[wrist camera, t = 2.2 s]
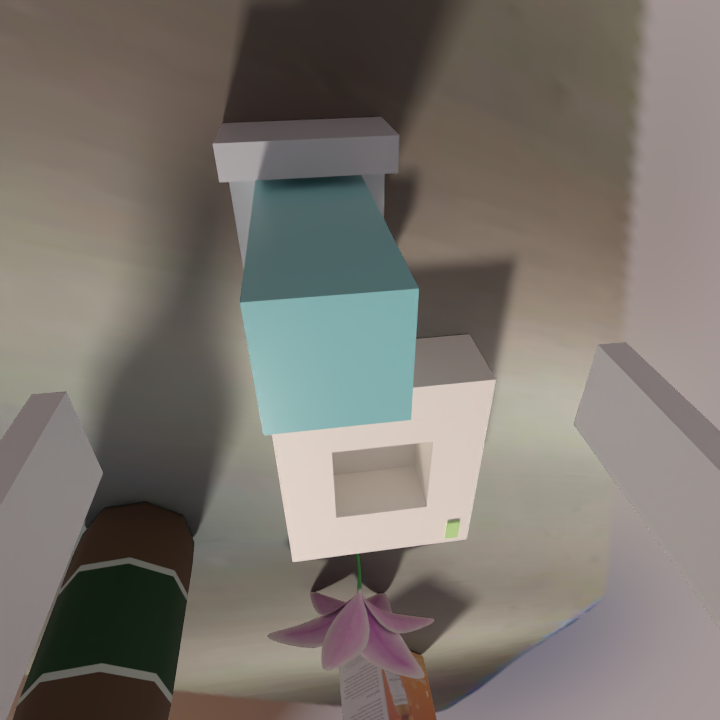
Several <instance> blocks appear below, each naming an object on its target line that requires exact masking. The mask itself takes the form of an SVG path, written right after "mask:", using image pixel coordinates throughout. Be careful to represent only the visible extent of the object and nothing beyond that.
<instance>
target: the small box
mask: <svg viewBox="0 0 720 720" xmlns="http://www.w3.org/2000/svg"><path fill="white" fill-rule="evenodd" d="M410 652H411V651H410ZM411 653H412V655H413V656H414V658H415V659H416V661H417V662H418V664H419V665H420V667H421V668H422V670H423V672H424V674H425V676H424V678H420V679H416V678H410V677H405V676H402V675H398V674H394V673H392V672H389V671H386V670H383V669H381V668H379V667H377V666H375V665H373V664H371V663H370V662H368V661H367V660H366V659H365V658H363V657H362V656H361V654H360V655H358V656H357V657H356V658H354V659H353V660H351V661H349V662H348V663H346V664H344V665H342V666H340V667H339V676H340V688H341V700H342V713H343V720H436V715H435V710H434V705H433V701H432V696H431V691H430V687H429V682H428V677H427V673H426V668H425V663H424V659H423V656H421V655H419V654H416V653H413V652H411Z"/></svg>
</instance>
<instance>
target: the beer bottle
mask: <svg viewBox="0 0 720 720" xmlns="http://www.w3.org/2000/svg"><path fill="white" fill-rule="evenodd" d="M193 552H194V540H193V538H192V536H191V534H190V531H189V529H188V527H187V525H186V523H185V521H184V518H183V516H182V515H181V514H178V513H175V512H172V511H169V510H167V509H164V508H161V507H158V506H155V505H153V504H150V503H147V502H142V503H136V504H129V505H123V506H117V507H110V508H105V509H104V510H102V511H101V512H100V514H99V515H98V516H97V517H96V519H95V520H94V521H93V522H92V524H91V525H90V526H89V527H88V528H87V530H86V531H85V532H84V533H83V535H82V537H81V539H80V541H79V544H78V546H77V548H76V550H75V553H74V555H73V557H72V560H71V562H70V565H69V568H68V570H67V573H66V576H65V578H64V581H63V584H62V587H61V589H60V592H59V595H58V597H57V600H56V603H55V605H54V608H53V611H52V613H51V616H50V619H49V621H48V624H47V627H46V629H45V632H44V635H43V637H42V640H41V643H40V646H39V648H38V651H37V654H36V656H35V659H34V662H33V664H32V667H31V670H30V672H29V675H28V678H27V681H26V683H25V686H24V689H23V691H22V694H21V697H20V699H19V702H18V705H17V708H16V711H15V714H14V718H13V720H168V716H169V711H170V707H171V702H172V695H173V689H174V682H175V676H176V669H177V662H178V656H179V649H180V643H181V636H182V630H183V623H184V616H185V610H186V603H187V597H188V590H189V584H190V577H191V570H192V564H193Z"/></svg>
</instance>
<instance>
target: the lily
mask: <svg viewBox="0 0 720 720" xmlns="http://www.w3.org/2000/svg"><path fill="white" fill-rule="evenodd" d="M356 559H357V570H358V588H357V593H356V595H355V596H354V597H353V598H352V599H351V600H349V601H348V602H344V601H340V600H337V599H334V598H331V597H328V596H325V595H322V594H320V593H317V592H311V593H310V596H311V600H312V603H313V606H314V608H315V610H316V611H317V613H319V614H320V615H322V616H320V617H317V618H315V619H313V620H311V621H309V622H306V623H303V624H301V625H298V626H295V627H291V628H288V629H284V630H280V631H276V632H273V633H270V634H269V635H268V637H269V638H270V639H272V640H274V641H277V642H280V643H284V644H287V645H292V646H298V647H306V648H315V647H321V646H322V667H323V669H325V670H332V669H335V668H338V667H340V666H342V665H344V664H346V663H348V662H349V661H351V660H353V659H354V658H356V657H357V656H358V655H360V654H361V656H362V657H363V658H365V659H366V660H367V661H368V662H370V663H371V664H373V665H375V666H377V667H379V668H381V669H383V670H386V671H389V672H392V673H394V674H398V675H402V676H405V677H410V678H416V679H420V678H424V676H425V674H424V672H423V670H422V668H421V667H420V665H419V664H418V662H417V661H416V659H415V658H414V656H413V655H412V653H411V652H410V650H409V648H408V647H407V645H406V643H405V642H404V640H403V638H402V637H401V635H400V634H399V633H408V632H413V631H415V630H418V629H421V628H423V627H426V626H428V625H430V624H431V623H433V622H434V620H435V619H432V618H424V617H416V616H409V615H402V614H395V613H392V611H391V607H390V603H389V600H388V597H387V596H386V594H384V593H380V594H376V595H374V596H372V597H370V598H368V599H365V598H364V597H363V596H362V588H361V564H360V553H358V554H356Z"/></svg>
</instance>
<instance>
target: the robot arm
mask: <svg viewBox="0 0 720 720" xmlns="http://www.w3.org/2000/svg"><path fill="white" fill-rule="evenodd" d="M574 426H575V427H576V428H577V430H578V431H579V433H580V434H581V435H582V437H583V438H584V440H585V441H586V442H587V444H588V445H589V447H590V448H591V449H592V451H593V452H594V454H595V455H596V456H597V458H598V459H599V461H600V462H601V463H602V465H603V466H604V468H605V469H606V470H607V472H608V473H609V475H610V476H611V477H612V479H613V480H614V482H615V483H616V484H617V486H618V487H619V489H620V490H621V491H622V493H623V494H624V495H625V497H626V498H627V500H628V501H629V503H630V504H631V505H632V507H633V508H634V509H635V511H636V512H637V514H638V515H639V516H640V518H641V519H642V521H643V522H644V523H645V525H646V526H647V528H648V529H649V530H650V532H651V533H652V535H653V536H654V537H655V539H656V540H657V542H658V543H659V544H660V546H661V547H662V549H663V550H664V551H665V553H666V554H667V556H668V557H669V558H670V560H671V561H672V562H673V564H674V565H675V567H676V568H677V570H678V571H679V572H680V574H681V575H682V577H683V578H684V579H685V581H686V582H687V584H688V585H689V586H690V588H691V589H692V590H693V592H694V593H695V595H696V596H697V598H698V599H699V600H700V602H701V603H702V604H703V606H704V607H705V609H706V610H707V612H708V613H709V614H710V615H711V617H712V618H713V620H714V621H715V623H716V624H717V625H718V627H719V628H720V431H719V430H718V429H717V428H716V427H715V426H714V425H713V424H712V423H711V422H710V421H709V420H708V419H707V418H705V417H704V416H703V415H702V414H701V413H700V412H699V411H698V410H697V409H696V408H695V407H693V405H692V404H691V403H690V402H688V401H687V400H686V399H685V398H684V397H683V396H682V395H681V394H680V393H679V392H678V391H677V390H675V388H674V387H673V386H672V385H670V384H669V383H668V382H667V381H666V380H665V379H664V378H663V377H662V376H661V375H660V374H659V373H658V372H657V371H656V370H655V369H654V368H652V367H651V366H650V365H649V364H648V363H647V362H646V361H645V360H644V359H643V358H642V357H641V356H640V355H639V354H638V353H637V352H636V351H634V349H632V348H631V347H630V346H629V345H628V344H627V343H626V342H623V343H612V344H600V345H598V346H597V350H596V353H595V356H594V359H593V363H592V366H591V369H590V372H589V376H588V379H587V382H586V385H585V388H584V392H583V395H582V398H581V401H580V405H579V408H578V411H577V414H576V418H575V421H574ZM102 475H103V471H102V469H101V467H100V465H99V463H98V460H97V458H96V456H95V454H94V452H93V449H92V447H91V445H90V443H89V441H88V438H87V436H86V434H85V432H84V430H83V427H82V425H81V423H80V421H79V419H78V416H77V414H76V412H75V410H74V408H73V405H72V403H71V401H70V399H69V396H68V394H67V392H54V393H43V394H32V395H31V396H30V398H29V399H28V401H27V402H26V404H25V405H24V407H23V408H22V410H21V411H20V413H19V414H18V416H17V417H16V419H15V420H14V422H13V423H12V425H11V426H10V428H9V429H8V431H7V432H6V434H5V435H4V437H3V438H2V440H1V441H0V720H6V718H7V716H8V713H9V711H10V708H11V706H12V703H13V701H14V698H15V696H16V693H17V690H18V688H19V686H20V683H21V680H22V678H23V675H24V673H25V670H26V668H27V665H28V663H29V660H30V658H31V655H32V652H33V650H34V647H35V645H36V642H37V640H38V637H39V635H40V632H41V630H42V627H43V625H44V622H45V619H46V617H47V614H48V612H49V609H50V607H51V604H52V602H53V599H54V597H55V594H56V592H57V589H58V586H59V584H60V581H61V579H62V576H63V574H64V571H65V569H66V566H67V564H68V561H69V559H70V556H71V553H72V551H73V548H74V546H75V543H76V541H77V538H78V536H79V533H80V531H81V528H82V526H83V523H84V520H85V518H86V515H87V513H88V510H89V508H90V505H91V503H92V500H93V498H94V495H95V493H96V490H97V487H98V485H99V482H100V480H101V477H102Z"/></svg>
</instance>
